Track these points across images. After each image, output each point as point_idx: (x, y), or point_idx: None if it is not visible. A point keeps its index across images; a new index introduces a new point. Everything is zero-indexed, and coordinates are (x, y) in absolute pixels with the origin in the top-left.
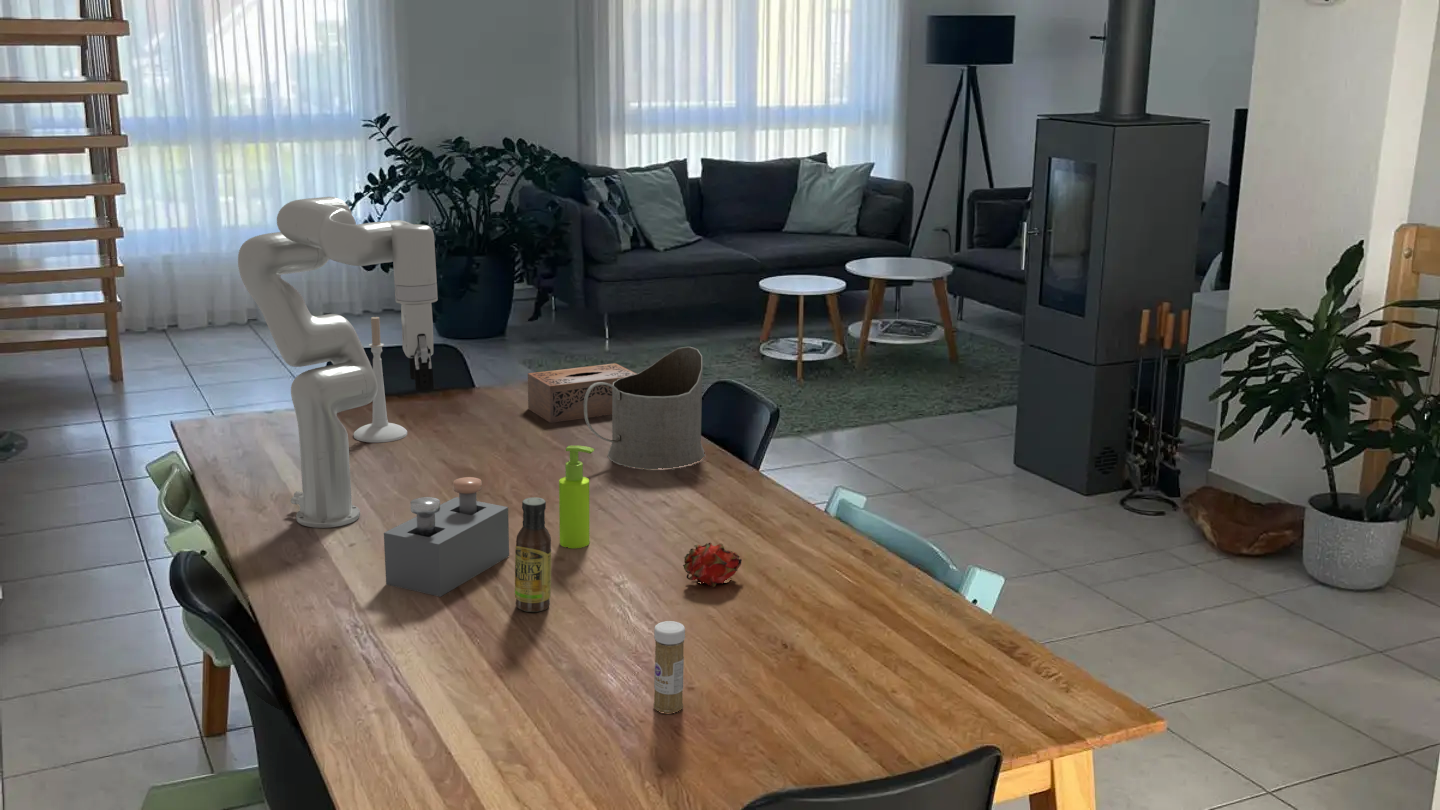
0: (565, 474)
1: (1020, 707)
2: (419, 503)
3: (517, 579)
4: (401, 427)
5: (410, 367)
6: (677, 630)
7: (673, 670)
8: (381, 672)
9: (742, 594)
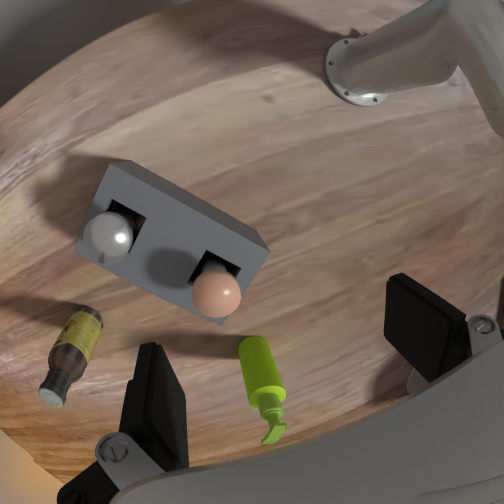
0: (268, 397)
1: (62, 472)
2: (97, 231)
3: (66, 325)
4: None
5: (426, 299)
6: None
7: None
8: None
9: None
